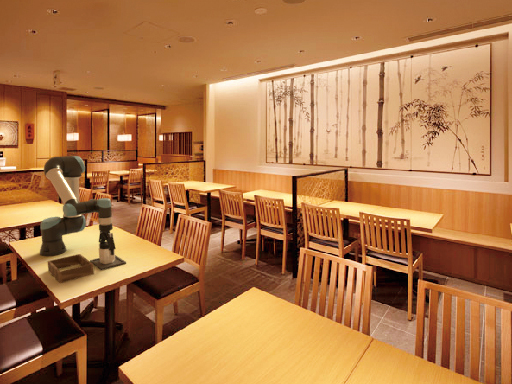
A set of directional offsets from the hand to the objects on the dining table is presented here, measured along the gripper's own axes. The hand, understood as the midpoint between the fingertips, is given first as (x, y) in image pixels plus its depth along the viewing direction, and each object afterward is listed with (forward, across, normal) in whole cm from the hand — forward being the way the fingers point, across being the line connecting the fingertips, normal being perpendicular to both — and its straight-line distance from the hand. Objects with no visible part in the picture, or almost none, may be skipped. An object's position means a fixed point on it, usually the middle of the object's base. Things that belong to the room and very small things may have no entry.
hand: (107, 256), depth 202 cm
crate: (+4, 0, -21) cm, 21 cm away
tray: (+4, 0, 0) cm, 4 cm away
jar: (+4, -1, 0) cm, 4 cm away
